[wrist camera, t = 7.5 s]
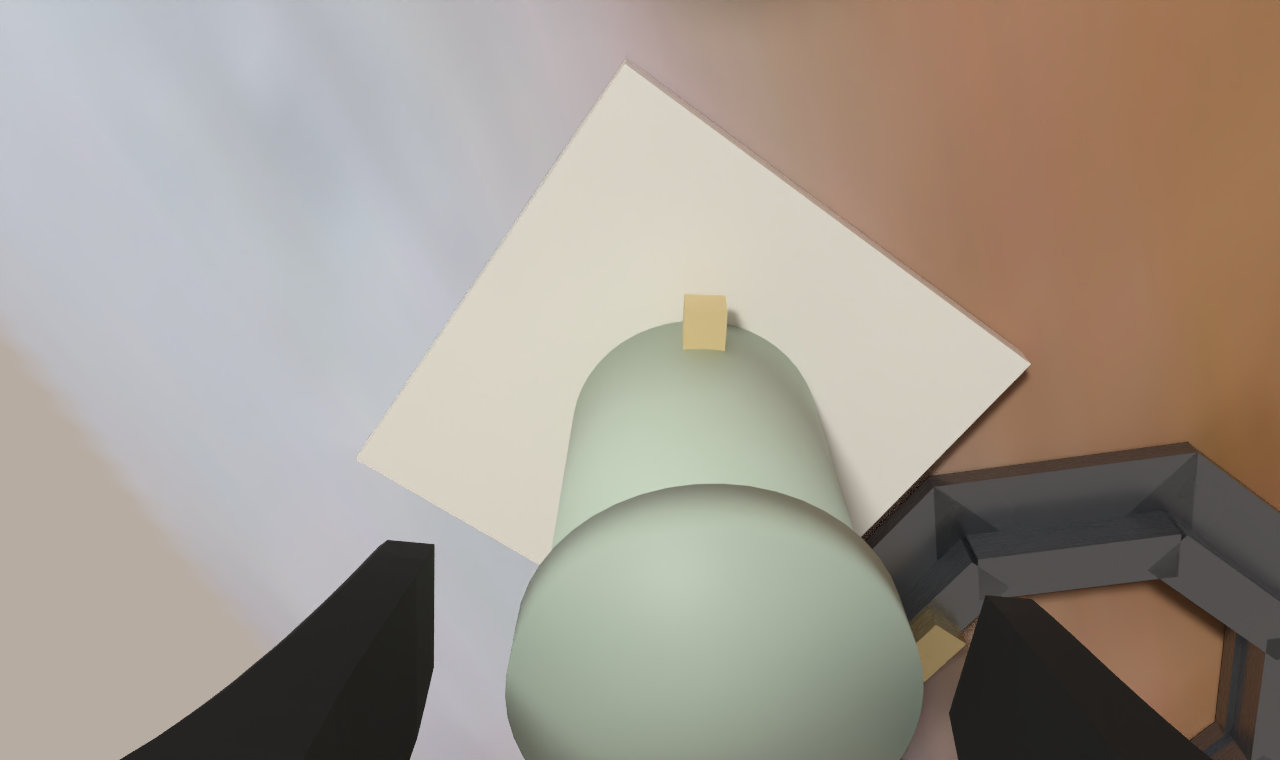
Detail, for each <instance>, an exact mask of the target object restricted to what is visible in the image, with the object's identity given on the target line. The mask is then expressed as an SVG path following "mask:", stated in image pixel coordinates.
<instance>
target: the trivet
mask: <svg viewBox="0 0 1280 760" xmlns="http://www.w3.org/2000/svg"><path fill="white" fill-rule="evenodd" d="M684 294H697V295H725V297H726V303H727V309H728V315H727V324H729V325H733V326H736V327H739V328H742V329H745V330H748V331H750V332H752V333H754V334H756V335H758V336H760V337H762V338H764V339H765V340H767V341H768V342H770V343H771V344H773V345H774V346H776V347H777V348H778V349H779V350H780V351H782V352H783V353H784V354H785V355H786V356H787V357H788V358H789V359H790V360H791V361H792V362H793V364H794V365H795V366H796V367H797V368H798V370H799V371H800V373H801V375H802V376H803V378H804V380H805V381H806V383H807V385H808V388H809V390H810V392H811V395H812V398H813V401H814V404H815V407H816V410H817V414H818V417H819V420H820V423H821V426H822V429H823V433H824V436H825V439H826V442H827V445H828V449H829V452H830V455H831V458H832V461H833V464H834V468H835V471H836V474H837V477H838V480H839V484H840V487H841V490H842V493H843V496H844V499H845V503H846V506H847V509H848V512H849V515H850V519H851V522H852V525H853V528H854V531H855V533H856V534H858V535H859V536H860V537H862V535H863V534H864V533H865V532H866V531H867V530H868V529H869V528H870V527H871V526H872V525H873V524H874V523H875V522H876V521H877V520H878V519H879V518H880V517H881V516H882V515H883V514H884V513H885V512H886V511H887V510H888V509H889V508H890V507H891V506H892V505H893V504H894V503H895V502H896V501H897V500H898V499H899V498H900V497H901V496H902V495H903V494H904V493H905V492H906V491H907V490H908V489H909V488H910V487H911V486H912V485H913V484H914V483H915V482H916V481H917V480H918V478H919V477H920V476H921V475H922V474H923V473H924V472H925V471H926V470H927V469H928V468H929V467H930V466H931V465H932V464H933V463H934V462H935V461H936V460H937V459H938V458H939V457H940V456H941V455H942V454H943V453H944V452H945V451H946V450H947V449H948V448H949V447H950V446H951V445H952V444H953V443H954V442H955V441H956V440H957V439H958V438H959V437H960V436H961V435H962V434H963V433H964V432H965V431H966V430H967V429H968V428H969V427H970V426H971V425H972V424H973V423H974V422H975V420H976V419H977V418H978V417H979V416H980V415H981V414H982V413H983V412H984V411H985V410H986V409H987V408H988V407H989V406H990V405H991V404H992V403H993V402H994V401H995V400H996V399H997V398H998V397H999V396H1000V395H1001V394H1002V393H1003V392H1004V391H1005V390H1006V389H1007V388H1008V387H1009V386H1010V385H1011V384H1012V383H1013V382H1014V381H1015V380H1016V379H1017V378H1018V377H1019V376H1020V375H1021V374H1022V373H1023V372H1024V371H1025V370H1026V369H1027V368H1028V367H1029V366H1030V365H1031V364H1030V362H1029V361H1028V360H1027V359H1026V357H1025V356H1024V355H1023V354H1022V352H1021V351H1020V350H1018V349H1017V348H1016V347H1014V346H1013V345H1012V344H1010V343H1009V342H1008V341H1006V340H1005V339H1004V338H1002V337H1001V336H1000V335H998V334H997V333H996V332H994V331H993V330H992V329H990V328H989V327H987V326H986V325H985V324H983V323H982V322H981V321H979V320H978V319H977V318H975V317H974V316H973V315H971V314H970V313H969V312H967V311H966V310H965V309H963V308H962V307H961V306H959V305H958V304H956V303H955V302H954V301H952V300H951V299H950V298H948V297H947V296H946V295H944V294H943V293H942V292H940V291H939V290H938V289H936V288H935V287H934V286H932V285H931V284H929V283H928V282H927V281H925V280H924V279H923V278H921V277H920V276H919V275H917V274H916V273H915V272H913V271H912V270H911V269H909V268H908V267H907V266H905V265H904V264H903V263H901V262H900V261H898V260H897V259H896V258H894V257H893V256H892V255H890V254H889V253H888V252H886V251H885V250H884V249H882V248H881V247H880V246H878V245H877V244H876V243H874V242H873V241H871V240H870V239H869V238H867V237H866V236H865V235H863V234H862V233H861V232H859V231H858V230H857V229H855V228H854V227H853V226H851V225H850V224H849V223H847V222H846V221H845V220H843V219H842V218H840V217H839V216H838V215H836V214H835V213H834V212H832V211H831V210H830V209H828V208H827V207H826V206H824V205H823V204H822V203H820V202H819V201H818V200H816V199H815V198H814V197H812V196H811V195H809V194H808V193H807V192H805V191H804V190H803V189H801V188H800V187H799V186H797V185H796V184H795V183H793V182H792V181H791V180H789V179H788V178H787V177H785V176H784V175H782V174H781V173H780V172H778V171H777V170H776V169H774V168H773V167H772V166H770V165H769V164H768V163H766V162H765V161H764V160H762V159H761V158H760V157H758V156H757V155H756V154H754V153H753V152H751V151H750V150H749V149H747V148H746V147H745V146H743V145H742V144H741V143H739V142H738V141H737V140H735V139H734V138H733V137H731V136H730V135H729V134H727V133H726V132H724V131H723V130H722V129H720V128H719V127H718V126H716V125H715V124H714V123H712V122H711V121H710V120H708V119H707V118H706V117H704V116H703V115H702V114H700V113H699V112H698V111H696V110H695V109H693V108H692V107H691V106H689V105H688V104H687V103H685V102H684V101H683V100H681V99H680V98H679V97H677V96H676V95H675V94H673V93H672V92H671V91H669V90H668V89H666V88H665V87H664V86H662V85H661V84H660V83H658V82H657V81H656V80H654V79H653V78H652V77H650V76H649V75H648V74H646V73H645V72H644V71H642V70H641V69H640V68H638V67H637V66H635V65H634V64H633V63H631V62H630V61H629V60H627V59H625V60H624V62H623V63H622V65H621V66H620V68H619V69H618V71H617V72H616V74H615V75H614V77H613V78H612V79H611V81H610V82H609V84H608V85H607V87H606V88H605V90H604V91H603V93H602V94H601V96H600V97H599V99H598V100H597V102H596V103H595V105H594V106H593V107H592V109H591V110H590V112H589V113H588V115H587V116H586V118H585V119H584V121H583V122H582V124H581V125H580V127H579V128H578V130H577V131H576V133H575V134H574V136H573V137H572V138H571V140H570V141H569V143H568V144H567V146H566V147H565V149H564V150H563V152H562V153H561V155H560V156H559V158H558V159H557V161H556V162H555V164H554V165H553V166H552V168H551V169H550V171H549V172H548V174H547V175H546V177H545V178H544V180H543V181H542V183H541V184H540V186H539V187H538V189H537V190H536V192H535V193H534V194H533V196H532V197H531V199H530V200H529V202H528V203H527V205H526V206H525V208H524V209H523V211H522V212H521V214H520V215H519V217H518V218H517V220H516V221H515V223H514V224H513V225H512V227H511V228H510V230H509V231H508V233H507V234H506V236H505V237H504V239H503V240H502V242H501V243H500V245H499V246H498V248H497V249H496V251H495V252H494V253H493V255H492V256H491V258H490V259H489V261H488V262H487V264H486V265H485V267H484V268H483V270H482V271H481V273H480V274H479V276H478V277H477V279H476V280H475V281H474V283H473V284H472V286H471V287H470V289H469V290H468V292H467V293H466V295H465V296H464V298H463V299H462V301H461V302H460V304H459V305H458V307H457V308H456V309H455V311H454V312H453V314H452V315H451V317H450V318H449V320H448V321H447V323H446V324H445V326H444V327H443V329H442V330H441V332H440V333H439V335H438V336H437V338H436V339H435V340H434V342H433V343H432V345H431V346H430V348H429V349H428V351H427V352H426V354H425V355H424V357H423V358H422V360H421V361H420V363H419V364H418V366H417V367H416V368H415V370H414V371H413V373H412V374H411V376H410V377H409V379H408V380H407V382H406V383H405V385H404V386H403V388H402V389H401V391H400V392H399V394H398V395H397V396H396V398H395V399H394V401H393V402H392V404H391V405H390V407H389V408H388V410H387V411H386V413H385V414H384V416H383V417H382V419H381V420H380V422H379V423H378V424H377V426H376V427H375V429H374V430H373V432H372V433H371V435H370V436H369V438H368V439H367V441H366V442H365V444H364V445H363V447H362V449H361V451H360V453H359V455H358V456H357V458H356V460H358V461H360V462H361V463H363V464H365V465H367V466H368V467H370V468H372V469H374V470H375V471H377V472H379V473H380V474H382V475H384V476H386V477H387V478H389V479H391V480H393V481H394V482H396V483H398V484H400V485H401V486H403V487H405V488H407V489H408V490H410V491H412V492H413V493H415V494H417V495H419V496H420V497H422V498H424V499H426V500H427V501H429V502H431V503H433V504H434V505H436V506H438V507H439V508H441V509H443V510H445V511H446V512H448V513H450V514H452V515H453V516H455V517H457V518H459V519H460V520H462V521H464V522H466V523H467V524H469V525H471V526H472V527H474V528H476V529H478V530H479V531H481V532H483V533H485V534H486V535H488V536H490V537H492V538H493V539H495V540H497V541H498V542H500V543H502V544H504V545H505V546H507V547H509V548H511V549H512V550H514V551H516V552H518V553H519V554H521V555H523V556H525V557H526V558H528V559H530V560H531V561H533V562H535V563H537V564H538V565H540V564H541V563H542V561H543V560H544V559H545V558H546V557H547V555H548V554H549V553H550V552H551V550H552V544H553V538H554V532H555V526H556V520H557V514H558V508H559V501H560V495H561V489H562V483H563V477H564V471H565V465H566V459H567V453H568V447H569V441H570V434H571V428H572V422H573V416H574V412H575V407H576V403H577V400H578V397H579V394H580V392H581V389H582V387H583V385H584V384H585V382H586V380H587V378H588V376H589V375H590V373H591V372H592V371H593V370H594V368H595V367H596V366H597V364H598V363H599V362H600V361H601V360H602V359H603V358H604V357H605V356H606V355H607V354H608V353H609V352H610V351H612V350H613V349H614V348H616V347H617V346H618V345H620V344H621V343H622V342H624V341H626V340H627V339H629V338H631V337H633V336H634V335H636V334H638V333H641V332H643V331H646V330H648V329H650V328H654V327H657V326H661V325H664V324H668V323H675V322H681V321H683V307H684Z"/></svg>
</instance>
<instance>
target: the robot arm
mask: <svg viewBox="0 0 1280 760" xmlns="http://www.w3.org/2000/svg"><path fill="white" fill-rule="evenodd" d="M433 668H434V544H425V543H414V542H403V541H393V540H387V541H386V542H384V543H383V544H382V545H380V546H379V547H378V548H377V549H376V550H375V551H374V552H373V553H372V554H371V555H370V556H369V557H368V558H367V559H366V560H365V561H364V562H363V563H362V564H361V566H360V567H359V568H358V569H357V570H356V571H355V572H354V573H353V574H352V575H351V576H350V577H349V578H348V579H347V580H346V581H345V582H344V583H343V584H342V585H341V586H340V587H339V588H338V589H337V590H336V591H335V592H334V593H333V594H332V595H331V596H330V597H329V598H328V599H327V600H325V601H324V602H323V603H322V604H321V605H320V606H319V607H318V608H317V609H316V610H315V611H314V612H313V613H312V614H311V615H309V616H308V617H307V618H306V619H305V620H304V621H303V622H302V623H301V624H300V625H299V626H298V627H297V628H295V629H294V630H293V631H292V632H291V633H290V634H289V635H288V636H287V637H286V638H285V639H283V640H282V641H281V642H280V643H279V644H278V645H277V646H275V647H274V648H273V649H272V650H271V651H269V652H268V653H267V654H266V655H265V656H263V657H262V658H261V659H260V660H259V661H257V662H256V663H255V664H254V665H253V666H251V667H250V668H249V669H248V670H247V671H245V672H244V673H243V674H242V675H241V676H239V677H238V678H237V679H236V680H235V681H233V682H232V683H231V684H230V685H228V686H227V687H226V688H224V689H223V690H222V691H220V692H219V693H218V694H217V695H215V696H214V697H213V698H212V699H210V700H209V701H207V702H206V703H205V704H203V705H202V706H201V707H199V708H198V709H196V710H195V711H194V712H192V713H191V714H190V715H188V716H187V717H185V718H184V719H182V720H181V721H180V722H178V723H177V724H175V725H174V726H172V727H171V728H169V729H168V730H167V731H165V732H164V733H162V734H161V735H159V736H158V737H156V738H155V739H153V740H151V741H150V742H148V743H147V744H145V745H143V746H142V747H140V748H138V749H137V750H135V751H133V752H132V753H130V754H128V755H127V756H125V757H123V758H122V759H120V760H410V757H411V754H412V751H413V748H414V746H415V743H416V740H417V736H418V732H419V728H420V724H421V720H422V716H423V712H424V708H425V703H426V699H427V694H428V690H429V686H430V681H431V677H432V672H433ZM949 715H950V720H951V725H952V730H953V735H954V741H955V746H956V751H957V756H958V760H1213V759H1211V758H1210V757H1209V756H1208V755H1206V754H1205V753H1204V752H1203V751H1202V750H1200V749H1199V748H1198V747H1197V746H1195V745H1194V744H1193V743H1192V742H1191V741H1189V740H1188V739H1187V738H1186V737H1185V736H1183V735H1182V734H1181V733H1180V732H1179V731H1178V730H1176V729H1175V728H1174V727H1173V726H1172V725H1171V724H1170V723H1168V722H1167V721H1166V720H1165V719H1164V718H1163V717H1161V716H1160V715H1159V714H1158V713H1157V712H1156V711H1155V710H1154V709H1152V708H1151V707H1150V706H1149V705H1148V704H1147V703H1146V702H1145V701H1143V700H1142V699H1141V698H1140V697H1139V696H1138V695H1137V694H1136V693H1135V692H1133V691H1132V690H1131V689H1130V688H1129V687H1128V686H1127V685H1126V684H1125V683H1124V682H1122V681H1121V680H1120V679H1119V678H1118V677H1117V676H1116V675H1115V674H1114V673H1113V672H1112V671H1110V670H1109V669H1108V668H1107V667H1106V666H1105V665H1104V664H1103V663H1102V662H1101V661H1100V660H1099V659H1098V658H1096V657H1095V656H1094V655H1093V654H1092V653H1091V652H1090V651H1089V650H1088V649H1087V648H1086V647H1085V646H1084V645H1082V644H1081V643H1080V642H1079V641H1078V640H1077V639H1076V638H1075V637H1074V636H1073V635H1072V634H1071V633H1070V632H1068V631H1067V630H1066V629H1065V628H1064V627H1063V626H1062V625H1061V624H1060V623H1059V622H1058V621H1056V620H1055V619H1054V618H1053V617H1052V616H1051V615H1050V614H1049V613H1047V612H1046V611H1045V610H1044V609H1043V608H1042V607H1040V606H1039V605H1038V604H1037V603H1036V602H1034V601H1033V600H1032V599H1023V598H1012V597H1001V596H990V595H985V598H984V602H983V605H982V608H981V611H980V615H979V618H978V621H977V624H976V628H975V631H974V634H973V637H972V641H971V644H970V647H969V650H968V654H967V657H966V660H965V663H964V667H963V670H962V673H961V676H960V680H959V683H958V686H957V689H956V693H955V696H954V699H953V702H952V706H951V709H950V712H949Z"/></svg>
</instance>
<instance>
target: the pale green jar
mask: <svg viewBox="0 0 1280 760" xmlns="http://www.w3.org/2000/svg"><path fill="white" fill-rule="evenodd" d="M727 315H728V309H727V303H726V297H725V295H697V294H684V307H683V321H681V322H675V323H668V324H664V325H661V326H657V327H654V328H650V329H648V330H646V331H643V332H641V333H638V334H636V335H634V336H633V337H631V338H629V339H627V340H626V341H624V342H622V343H621V344H620V345H618V346H617V347H616V348H614V349H613V350H612V351H610V352H609V353H608V354H607V355H606V356H605V357H604V358H603V359H602V360H601V361H600V362H599V363H598V364H597V366H596V367H595V368H594V370H593V371H592V372H591V373H590V375H589V376H588V378H587V380H586V382H585V384H584V385H583V387H582V389H581V392H580V394H579V397H578V400H577V403H576V407H575V412H574V416H573V422H572V428H571V434H570V441H569V447H568V453H567V459H566V465H565V471H564V477H563V483H562V489H561V495H560V501H559V508H558V514H557V520H556V526H555V532H554V538H553V544H552V550H551V552H550V553H549V554H548V555H547V557H546V558H545V559H544V560H543V561H542V563H541V564H540V565H539V567H538V569H537V570H536V572H535V574H534V575H533V577H532V579H531V580H530V582H529V584H528V587H527V589H526V592H525V594H524V597H523V599H522V602H521V605H520V610H519V614H518V619H517V623H516V628H515V634H514V639H513V644H512V649H511V654H510V659H509V664H508V669H507V674H506V691H505V699H506V707H507V715H508V720H509V723H510V726H511V730H512V733H513V736H514V739H515V741H516V743H517V745H518V747H519V749H520V751H521V753H522V755H523V757H524V758H525V760H900V759H901V758H902V756H903V755H904V753H905V752H906V750H907V748H908V746H909V744H910V742H911V740H912V738H913V735H914V733H915V731H916V728H917V724H918V721H919V717H920V714H921V710H922V701H923V693H924V685H923V669H922V664H921V660H920V656H919V652H918V648H917V645H916V642H915V639H914V636H913V633H912V631H911V628H910V625H909V622H908V619H907V616H906V613H905V611H904V608H903V605H902V602H901V599H900V596H899V594H898V591H897V589H896V587H895V584H894V582H893V580H892V577H891V575H890V574H889V572H888V571H887V569H886V567H885V566H884V564H883V563H882V561H881V560H880V558H879V557H878V556H877V554H876V553H875V552H874V551H873V550H872V549H871V547H870V546H869V545H868V544H867V543H866V542H865V541H864V540H863V539H862V538H861V537H860V536H859V535H858V534H856V533H855V531H854V528H853V525H852V522H851V519H850V515H849V512H848V509H847V506H846V503H845V499H844V496H843V493H842V490H841V487H840V484H839V480H838V477H837V474H836V471H835V468H834V464H833V461H832V458H831V455H830V452H829V449H828V445H827V442H826V439H825V436H824V433H823V429H822V426H821V423H820V420H819V417H818V414H817V410H816V407H815V404H814V401H813V398H812V395H811V392H810V390H809V388H808V385H807V383H806V381H805V380H804V378H803V376H802V375H801V373H800V371H799V370H798V368H797V367H796V366H795V365H794V364H793V362H792V361H791V360H790V359H789V358H788V357H787V356H786V355H785V354H784V353H783V352H782V351H780V350H779V349H778V348H777V347H776V346H774V345H773V344H771V343H770V342H768V341H767V340H765V339H764V338H762V337H760V336H758V335H756V334H754V333H752V332H750V331H748V330H745V329H742V328H739V327H736V326H733V325H729V324H727Z"/></svg>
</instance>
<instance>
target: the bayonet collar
mask: <svg viewBox="0 0 1280 760" xmlns="http://www.w3.org/2000/svg"><path fill="white" fill-rule="evenodd" d="M865 542H866V543H867V544H868V545H869V546H870V547H871V549H872V550H873V551H874V552H875V553H876V554H877V556H878V557H879V558H880V560H881V561H882V563H883V564H884V566H885V567H886V569H887V571H888V572H889V574H890V575H891V577H892V580H893V582H894V584H895V587H896V589H897V591H898V594H899V596H900V599H901V602H902V605H903V608H904V611H905V613H906V616H907V619H908V622H909V625H910V628H911V631H912V633H913V636H914V639H915V642H916V645H917V648H918V652H919V656H920V660H921V664H922V669H923V681H924V682H925V681H926V680H927V679H928V678H930V677H931V676H932V675H933V674H934V673H935V672H936V671H937V670H938V669H939V668H941V667H942V666H943V665H944V664H945V663H946V662H947V661H948V660H949V659H950V658H952V657H953V656H954V655H955V654H956V653H957V652H958V651H959V650H960V649H962V648H963V647H964V646H965V645H966V642H965V639H964V637H963V635H962V632H961V631H962V630H963V629H964V628H965V627H966V626H968V625H969V624H970V623H971V622H972V621H973V620H974V619H975V618H976V617H977V616H978V615H980V611H981V608H982V605H983V602H984V598H985V595H990V596H1001V597H1015V596H1023V595H1031V594H1039V593H1047V592H1056V591H1064V590H1072V589H1080V588H1089V587H1097V586H1105V585H1113V584H1121V583H1130V582H1138V581H1146V580H1154V579H1160V580H1162V581H1163V582H1165V583H1166V584H1168V585H1169V586H1171V587H1172V588H1173V589H1175V590H1176V591H1178V592H1179V593H1181V594H1182V595H1183V596H1185V597H1186V598H1188V599H1189V600H1191V601H1192V602H1193V603H1195V604H1196V605H1198V606H1199V607H1201V608H1202V609H1203V610H1205V611H1206V612H1208V613H1209V614H1211V615H1212V616H1214V617H1215V618H1216V619H1218V620H1219V621H1221V622H1222V623H1224V624H1225V625H1226V628H1225V637H1224V646H1223V655H1222V664H1221V673H1220V683H1219V692H1218V701H1217V710H1216V719H1215V722H1214V723H1212V724H1211V725H1210V726H1209V727H1207V728H1206V729H1205V730H1203V731H1202V732H1201V733H1199V734H1198V735H1197V736H1196V737H1194V738H1193V739H1192V740H1190V741H1191V742H1192V743H1193V744H1194V745H1195V746H1197V747H1198V748H1199V749H1200V750H1202V751H1203V752H1204V753H1205V754H1206V755H1208V756H1209V757H1210V758H1211V759H1213V760H1280V511H1278V510H1277V509H1276V508H1274V507H1273V506H1272V505H1270V504H1269V503H1268V502H1266V501H1265V500H1264V499H1262V498H1261V497H1260V496H1258V495H1257V494H1256V493H1254V492H1253V491H1252V490H1250V489H1249V488H1248V487H1246V486H1245V485H1244V484H1242V483H1241V482H1240V481H1238V480H1237V479H1236V478H1235V477H1233V476H1232V475H1231V474H1229V473H1228V472H1227V471H1225V470H1224V469H1223V468H1221V467H1220V466H1219V465H1217V464H1216V463H1215V462H1213V461H1212V460H1211V459H1209V458H1208V457H1207V456H1205V455H1204V454H1203V453H1201V452H1200V451H1199V450H1197V449H1196V448H1195V447H1193V446H1192V445H1191V444H1190V443H1189V442H1184V443H1176V444H1169V445H1161V446H1154V447H1146V448H1139V449H1131V450H1123V451H1116V452H1108V453H1101V454H1093V455H1086V456H1078V457H1071V458H1063V459H1056V460H1048V461H1041V462H1033V463H1026V464H1018V465H1010V466H1003V467H995V468H988V469H980V470H973V471H965V472H958V473H950V474H943V475H935V476H928V478H927V479H926V480H925V481H924V482H923V483H922V484H921V485H920V486H919V487H918V488H917V489H916V490H915V491H914V492H913V493H912V494H911V495H910V496H909V497H908V498H907V499H906V500H905V501H904V502H903V503H902V504H901V505H900V506H899V507H898V508H897V509H896V510H895V511H894V512H893V513H892V514H891V515H890V517H889V518H888V519H887V520H886V521H885V522H884V523H883V524H882V525H881V526H880V527H879V528H878V529H877V530H876V531H875V532H874V533H873V534H872V535H871V536H870V537H869V538H868V539H867V540H866V541H865Z"/></svg>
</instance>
